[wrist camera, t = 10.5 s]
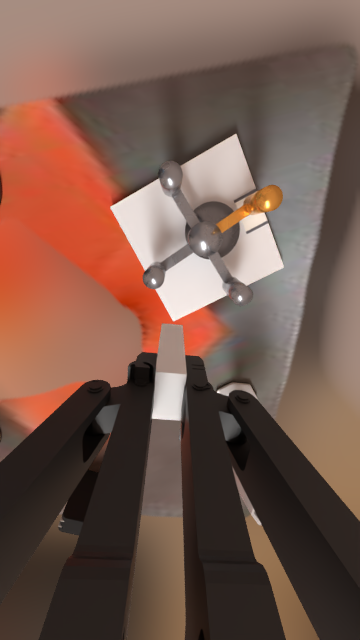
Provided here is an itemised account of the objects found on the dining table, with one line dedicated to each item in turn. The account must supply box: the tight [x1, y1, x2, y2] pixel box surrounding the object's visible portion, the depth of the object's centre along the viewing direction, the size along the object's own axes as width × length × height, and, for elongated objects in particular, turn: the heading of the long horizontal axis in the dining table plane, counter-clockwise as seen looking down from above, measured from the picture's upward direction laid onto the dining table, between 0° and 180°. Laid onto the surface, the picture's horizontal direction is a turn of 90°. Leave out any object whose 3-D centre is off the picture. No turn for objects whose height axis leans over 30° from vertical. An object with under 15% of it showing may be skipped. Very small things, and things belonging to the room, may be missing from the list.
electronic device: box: [58, 470, 99, 535], centre depth 51 cm, size 4×10×10 cm, turn 68°
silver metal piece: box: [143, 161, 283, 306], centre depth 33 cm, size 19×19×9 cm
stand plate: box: [110, 134, 284, 321], centre depth 38 cm, size 20×20×2 cm
